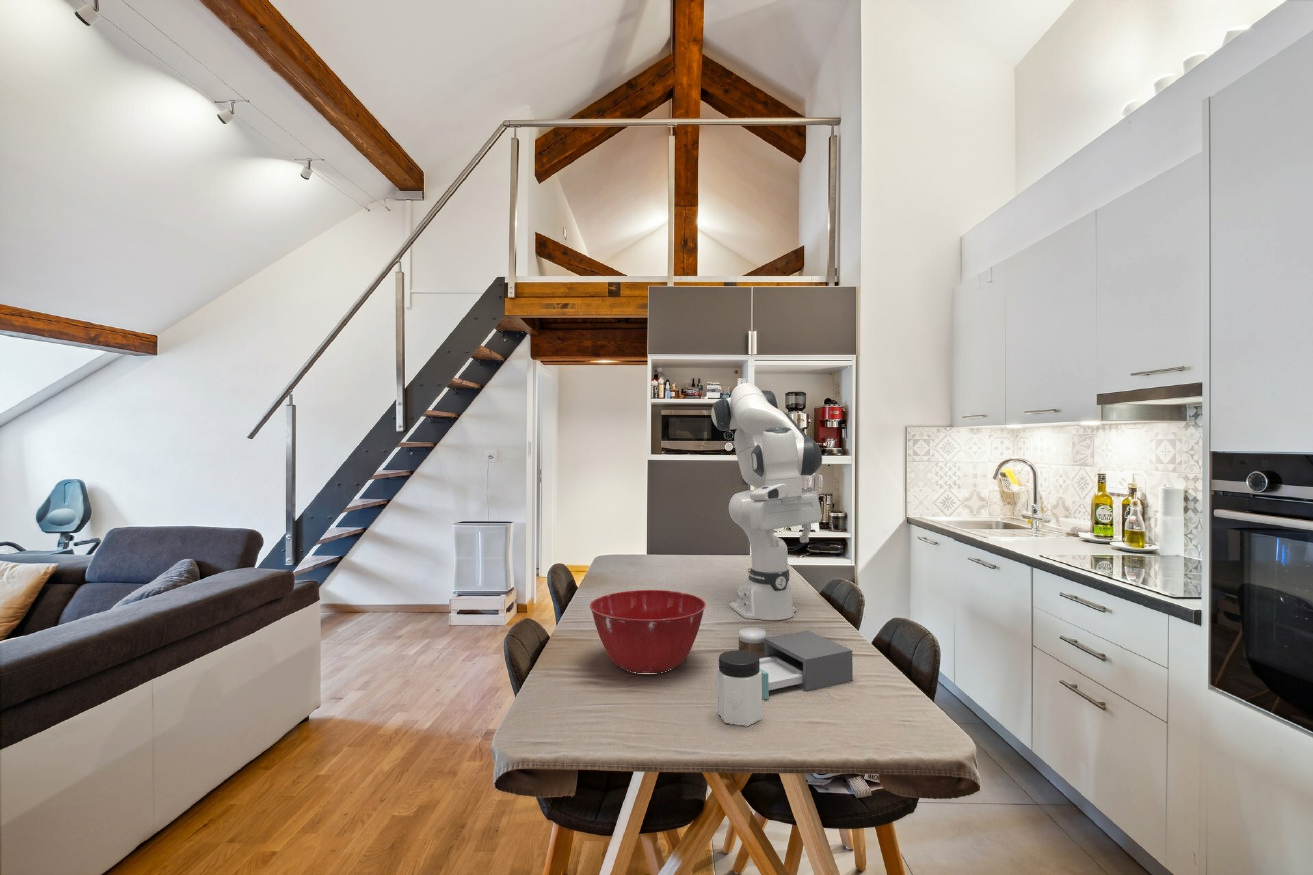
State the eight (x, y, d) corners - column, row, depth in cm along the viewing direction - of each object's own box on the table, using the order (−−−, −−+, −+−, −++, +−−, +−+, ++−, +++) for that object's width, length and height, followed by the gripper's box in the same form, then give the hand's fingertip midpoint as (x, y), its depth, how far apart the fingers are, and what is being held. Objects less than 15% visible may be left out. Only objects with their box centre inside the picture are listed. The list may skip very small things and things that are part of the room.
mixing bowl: (637, 638, 174) (636, 583, 174) (727, 658, 157) (726, 597, 157) (566, 671, 151) (565, 607, 151) (663, 698, 134) (662, 626, 134)
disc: (734, 637, 159) (734, 629, 159) (756, 633, 161) (756, 626, 161) (748, 644, 153) (748, 637, 153) (771, 640, 155) (770, 633, 155)
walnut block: (739, 657, 158) (738, 637, 158) (755, 653, 160) (755, 634, 160) (749, 663, 154) (749, 643, 154) (766, 660, 156) (766, 640, 156)
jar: (713, 723, 122) (712, 662, 122) (721, 705, 130) (721, 648, 130) (759, 728, 120) (758, 666, 120) (765, 710, 127) (764, 652, 127)
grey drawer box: (764, 666, 151) (764, 638, 151) (808, 658, 157) (807, 630, 157) (806, 691, 137) (805, 659, 137) (852, 680, 142) (852, 650, 142)
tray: (726, 673, 147) (726, 651, 147) (771, 665, 152) (771, 642, 152) (764, 699, 132) (764, 673, 132) (812, 688, 138) (812, 664, 138)
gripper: (808, 486, 166) (813, 538, 166) (744, 494, 157) (749, 549, 157) (824, 486, 161) (830, 540, 160) (758, 493, 152) (764, 550, 151)
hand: (789, 544), depth 158 cm, fingers open, 8 cm apart
